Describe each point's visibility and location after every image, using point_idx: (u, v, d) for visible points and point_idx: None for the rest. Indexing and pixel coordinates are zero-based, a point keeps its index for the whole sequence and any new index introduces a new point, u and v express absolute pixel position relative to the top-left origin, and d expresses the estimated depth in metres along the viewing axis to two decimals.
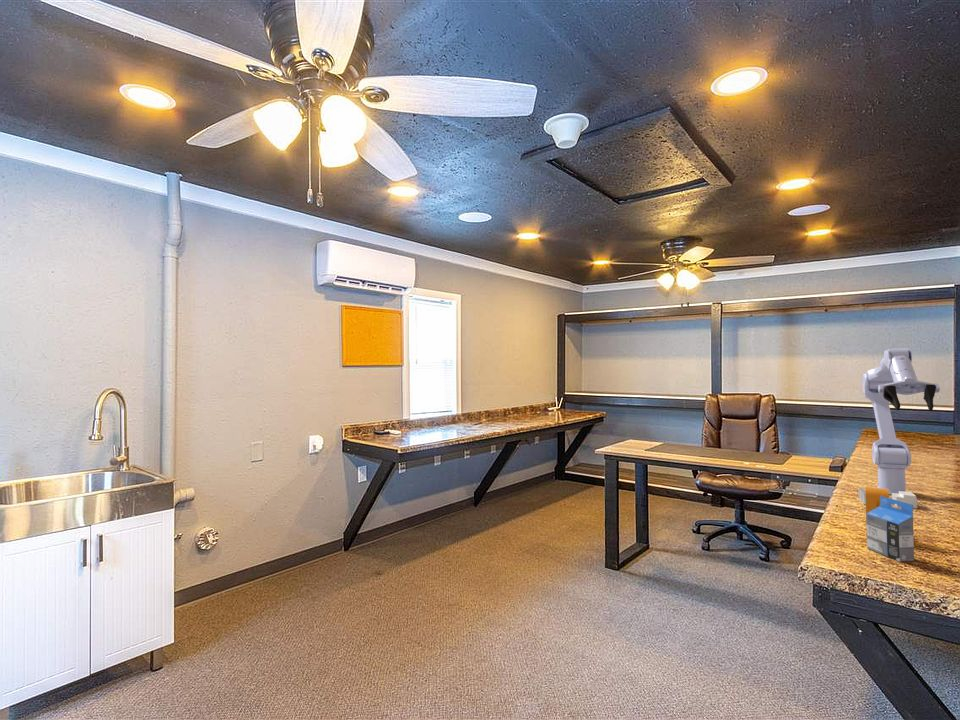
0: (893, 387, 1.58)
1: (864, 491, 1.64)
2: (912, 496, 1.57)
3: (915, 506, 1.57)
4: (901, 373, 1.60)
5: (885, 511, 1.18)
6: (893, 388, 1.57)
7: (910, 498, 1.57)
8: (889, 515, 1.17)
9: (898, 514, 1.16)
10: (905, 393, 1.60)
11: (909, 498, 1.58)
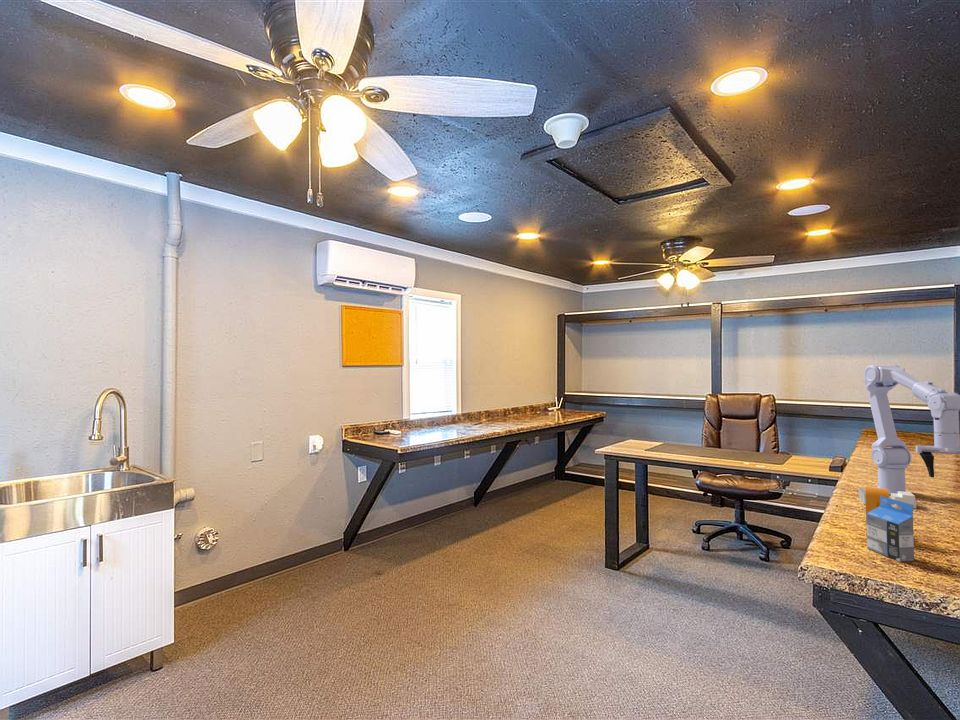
0: (931, 457, 1.56)
1: (864, 491, 1.64)
2: (911, 496, 1.57)
3: (914, 506, 1.57)
4: (944, 437, 1.54)
5: (885, 511, 1.18)
6: (931, 458, 1.56)
7: (909, 498, 1.58)
8: (889, 515, 1.17)
9: (898, 514, 1.16)
10: None
11: (908, 498, 1.58)
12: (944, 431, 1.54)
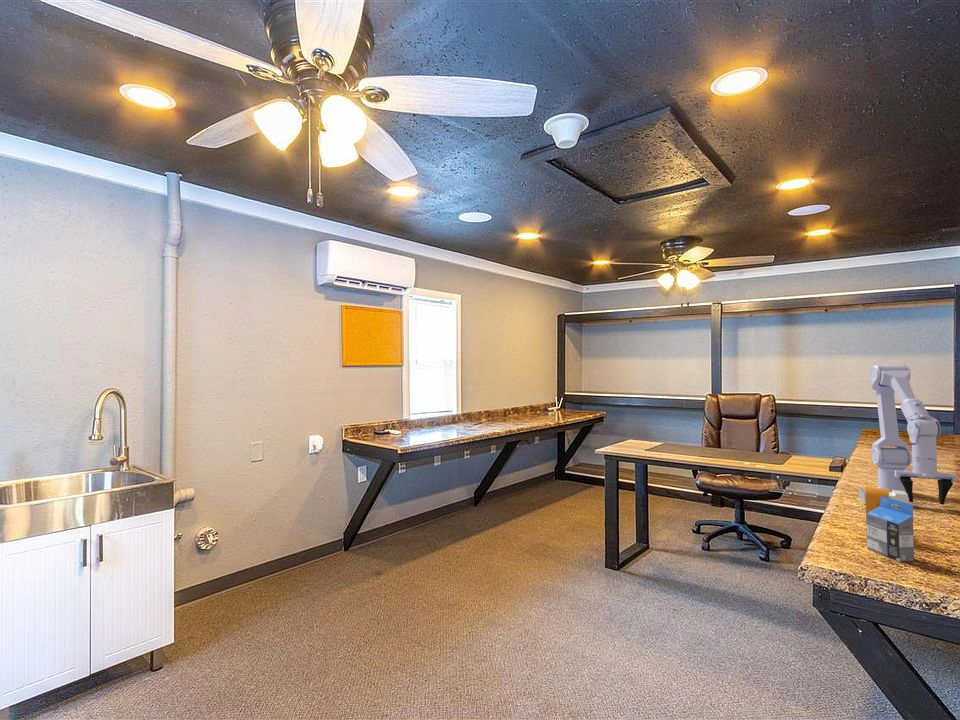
0: (910, 482, 1.58)
1: (864, 491, 1.64)
2: (904, 495, 1.58)
3: None
4: (922, 463, 1.57)
5: (885, 511, 1.18)
6: (910, 483, 1.58)
7: (902, 496, 1.58)
8: (889, 515, 1.17)
9: (898, 514, 1.16)
10: None
11: (901, 497, 1.58)
12: (919, 456, 1.57)
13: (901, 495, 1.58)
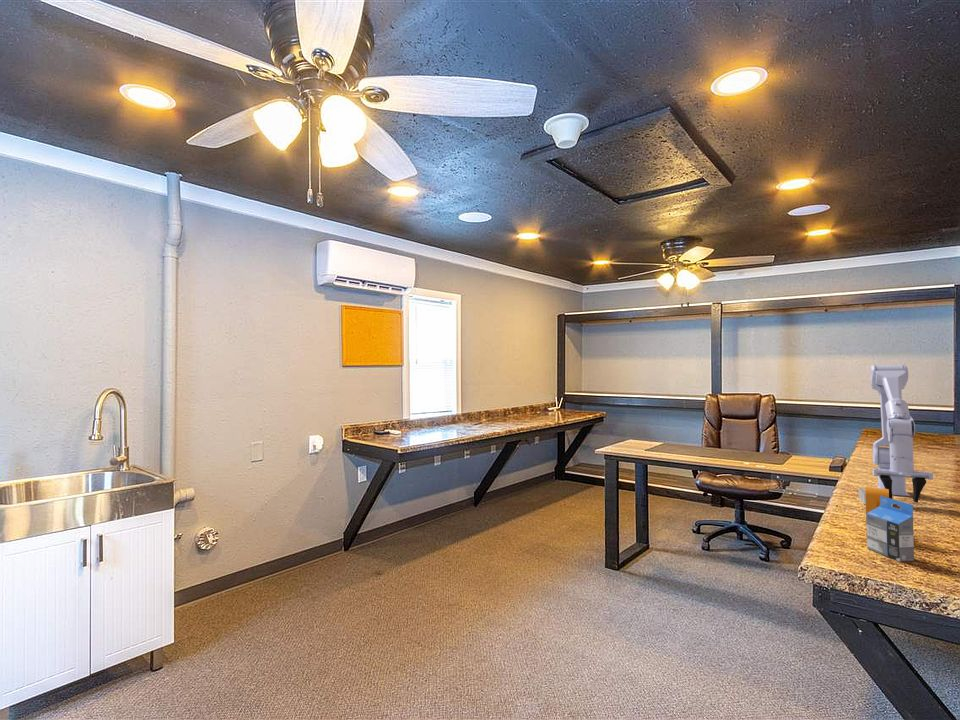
0: (890, 481, 1.60)
1: (864, 491, 1.64)
2: None
3: None
4: (899, 462, 1.59)
5: (885, 511, 1.18)
6: (889, 482, 1.60)
7: None
8: (889, 515, 1.17)
9: (898, 514, 1.16)
10: None
11: None
12: (893, 455, 1.61)
13: None
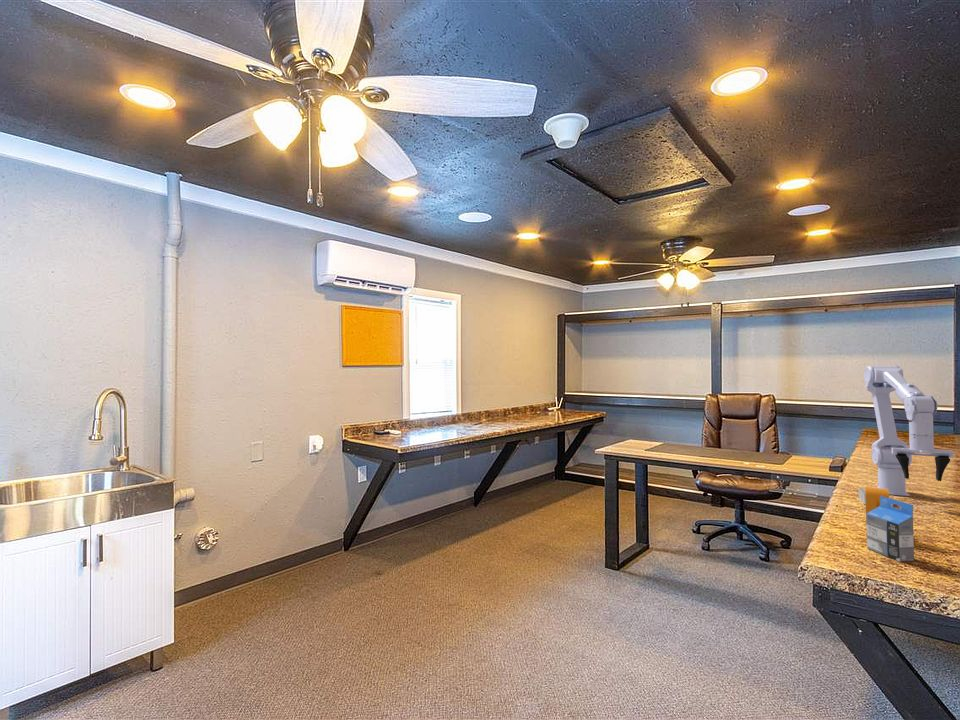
0: (906, 459, 1.58)
1: (864, 491, 1.64)
2: None
3: None
4: (918, 440, 1.57)
5: (885, 511, 1.18)
6: (906, 460, 1.59)
7: None
8: (889, 515, 1.17)
9: (898, 514, 1.16)
10: None
11: None
12: (915, 433, 1.58)
13: None
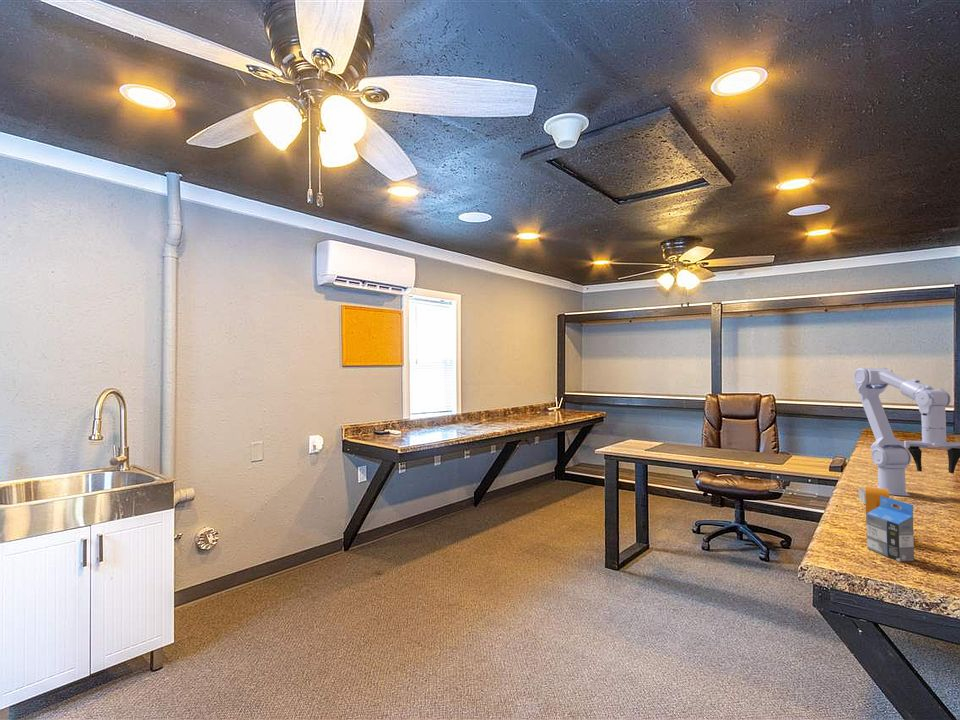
0: (919, 452, 1.60)
1: (864, 491, 1.64)
2: None
3: None
4: (931, 432, 1.59)
5: (885, 511, 1.18)
6: (919, 452, 1.60)
7: None
8: (889, 515, 1.17)
9: (898, 514, 1.16)
10: None
11: None
12: (931, 426, 1.59)
13: None
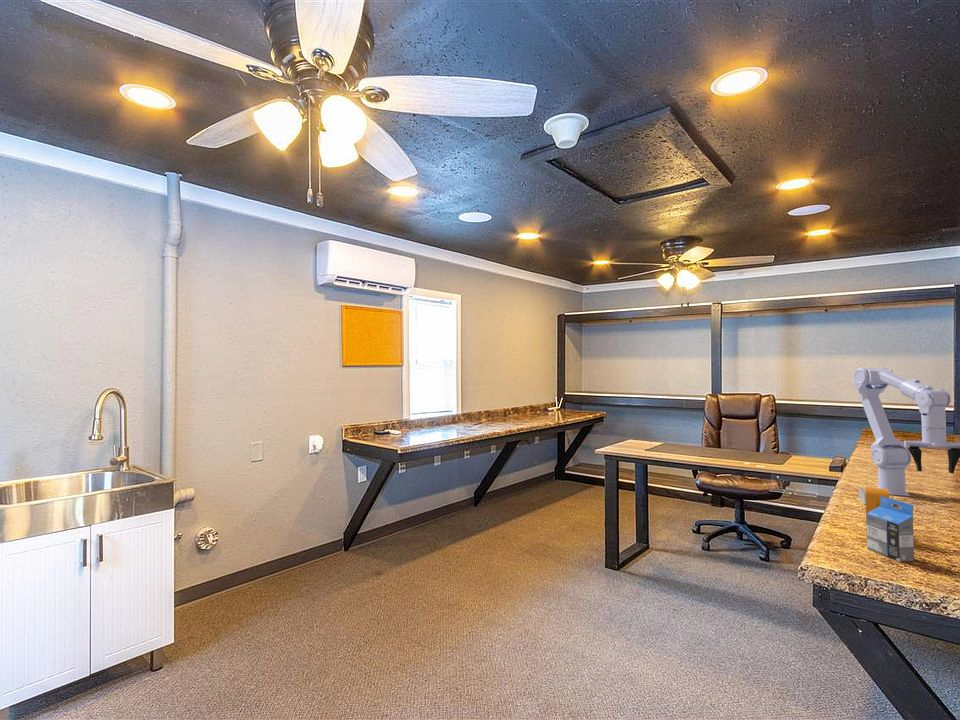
0: (919, 452, 1.60)
1: (864, 491, 1.64)
2: None
3: None
4: (931, 432, 1.59)
5: (885, 511, 1.18)
6: (919, 452, 1.60)
7: None
8: (889, 515, 1.17)
9: (898, 514, 1.16)
10: None
11: None
12: (931, 426, 1.59)
13: None
